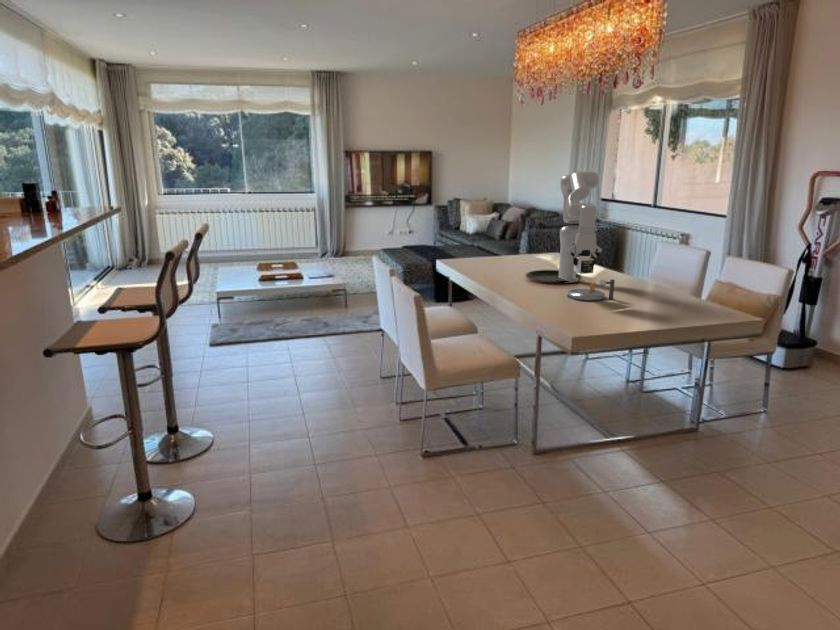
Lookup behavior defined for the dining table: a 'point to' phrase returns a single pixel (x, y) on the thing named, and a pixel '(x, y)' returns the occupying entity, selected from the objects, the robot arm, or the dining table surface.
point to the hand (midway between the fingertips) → (583, 265)
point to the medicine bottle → (584, 263)
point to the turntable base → (588, 301)
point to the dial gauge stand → (611, 291)
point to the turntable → (586, 294)
